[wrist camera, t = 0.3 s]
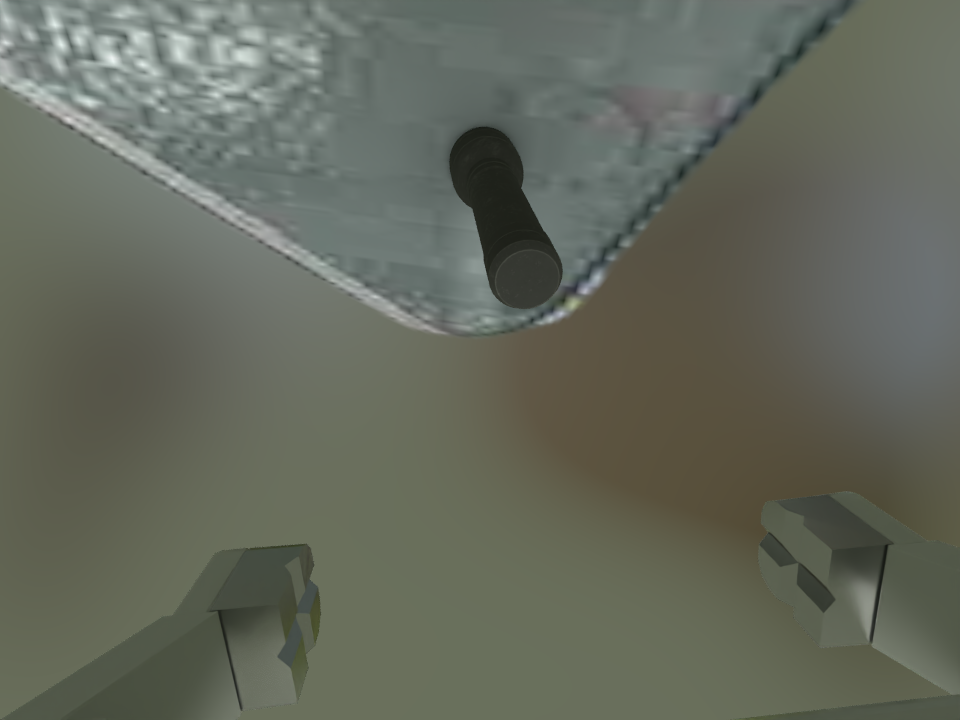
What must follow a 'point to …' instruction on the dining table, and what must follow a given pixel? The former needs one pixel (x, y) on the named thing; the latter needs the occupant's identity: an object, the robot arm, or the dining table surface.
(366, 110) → the dining table surface
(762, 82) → the dining table surface
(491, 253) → the flashlight
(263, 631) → the robot arm
